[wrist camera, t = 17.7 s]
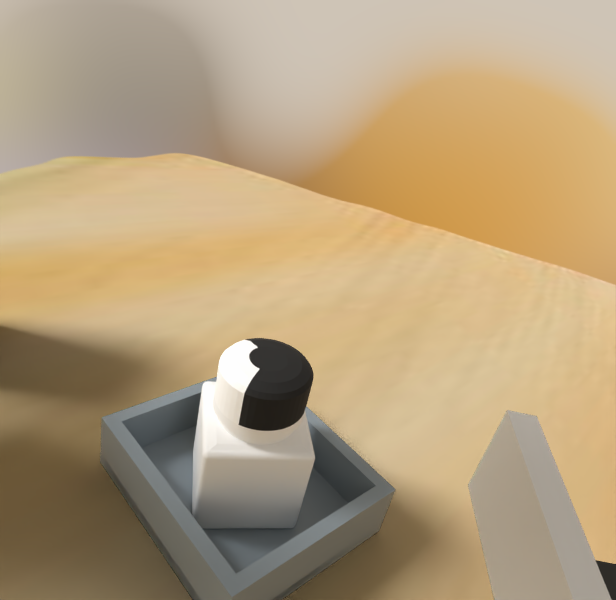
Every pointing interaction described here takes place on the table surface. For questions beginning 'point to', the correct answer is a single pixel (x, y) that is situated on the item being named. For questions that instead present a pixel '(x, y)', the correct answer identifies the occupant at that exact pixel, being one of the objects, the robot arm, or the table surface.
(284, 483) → the medicine bottle
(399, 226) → the table surface
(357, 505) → the tote
